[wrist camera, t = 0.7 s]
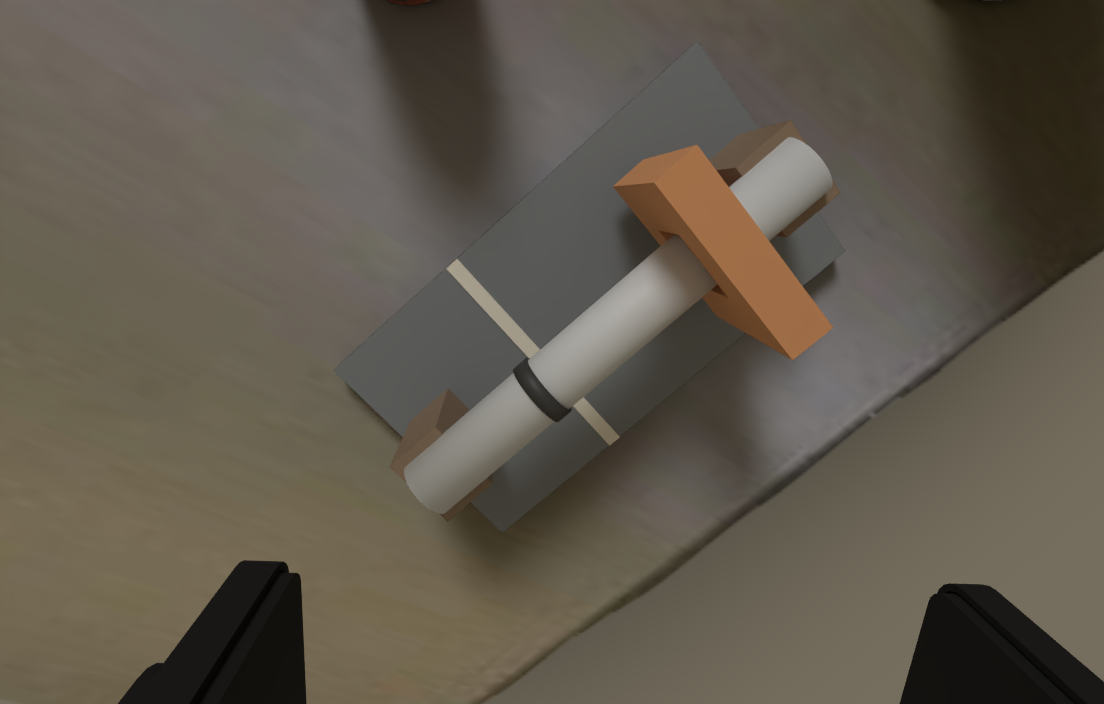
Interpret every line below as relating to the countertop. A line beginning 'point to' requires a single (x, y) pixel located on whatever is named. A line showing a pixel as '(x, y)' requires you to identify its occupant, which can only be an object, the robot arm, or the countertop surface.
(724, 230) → the orange square ring
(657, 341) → the pipe stand
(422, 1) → the supplement bottle
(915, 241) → the countertop surface
